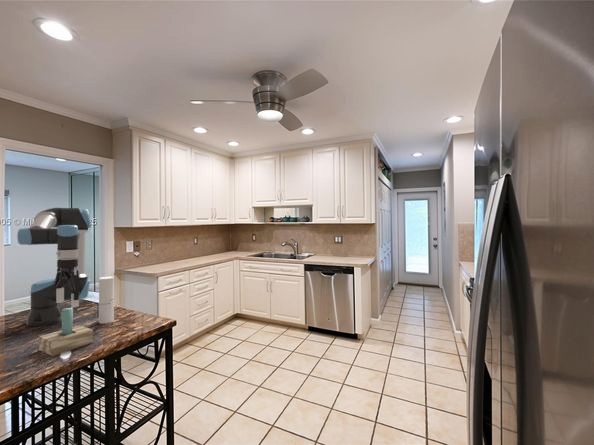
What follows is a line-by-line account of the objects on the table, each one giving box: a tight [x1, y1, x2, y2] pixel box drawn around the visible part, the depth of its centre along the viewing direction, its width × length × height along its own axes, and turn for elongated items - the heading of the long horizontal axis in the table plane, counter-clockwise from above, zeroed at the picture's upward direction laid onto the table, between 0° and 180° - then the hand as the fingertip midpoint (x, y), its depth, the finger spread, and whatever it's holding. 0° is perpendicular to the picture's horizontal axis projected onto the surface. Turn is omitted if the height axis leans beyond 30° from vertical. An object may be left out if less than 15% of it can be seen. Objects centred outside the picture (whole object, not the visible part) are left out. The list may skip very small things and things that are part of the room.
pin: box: [61, 307, 74, 336], centre depth 134 cm, size 4×4×14 cm
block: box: [38, 324, 94, 357], centre depth 134 cm, size 12×16×6 cm
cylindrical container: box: [98, 276, 115, 324], centre depth 167 cm, size 7×7×25 cm
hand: (67, 304), depth 135 cm, fingers open, 13 cm apart
